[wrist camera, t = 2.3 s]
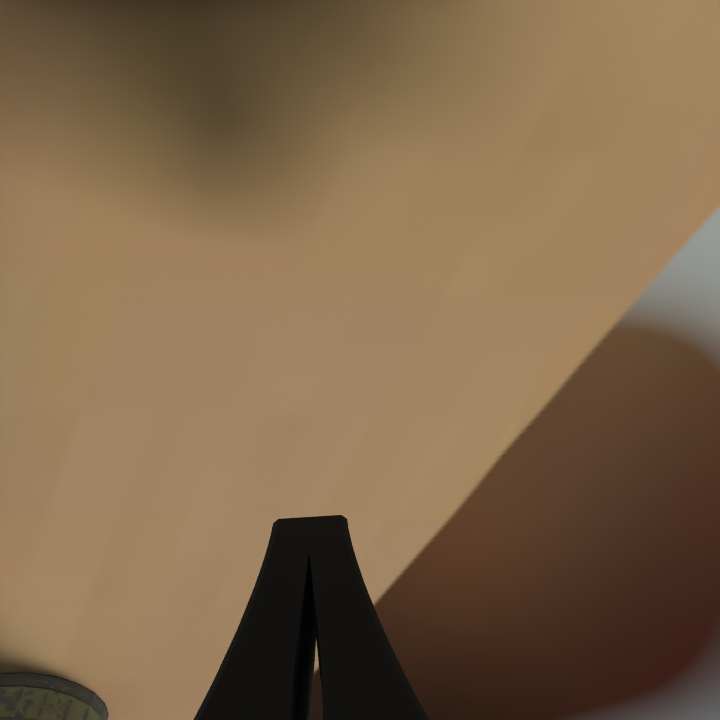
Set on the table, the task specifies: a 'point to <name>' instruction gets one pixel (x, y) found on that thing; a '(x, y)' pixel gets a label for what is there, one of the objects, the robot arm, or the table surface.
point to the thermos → (47, 699)
